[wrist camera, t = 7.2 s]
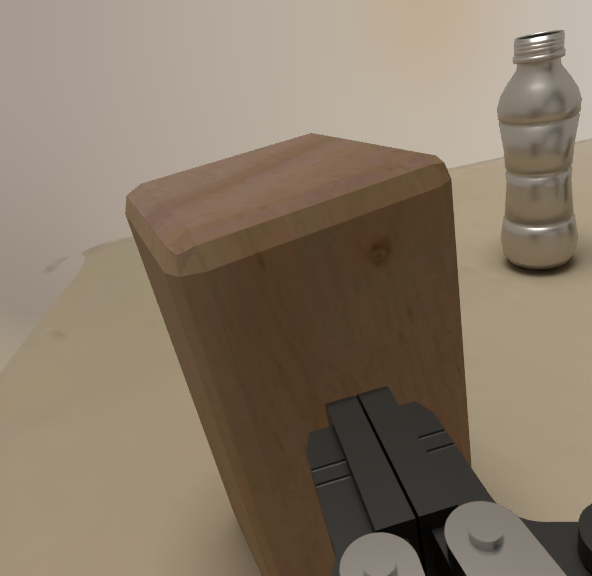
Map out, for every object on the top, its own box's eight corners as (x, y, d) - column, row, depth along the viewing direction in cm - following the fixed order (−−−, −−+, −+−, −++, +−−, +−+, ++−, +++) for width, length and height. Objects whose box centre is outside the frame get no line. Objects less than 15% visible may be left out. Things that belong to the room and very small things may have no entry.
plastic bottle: (532, 285, 47) (533, 42, 38) (487, 259, 53) (478, 45, 44) (593, 264, 48) (607, 23, 39) (542, 241, 54) (544, 28, 45)
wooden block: (486, 555, 26) (462, 147, 17) (305, 673, 22) (160, 250, 14) (374, 438, 34) (320, 126, 25) (232, 511, 31) (113, 186, 22)
